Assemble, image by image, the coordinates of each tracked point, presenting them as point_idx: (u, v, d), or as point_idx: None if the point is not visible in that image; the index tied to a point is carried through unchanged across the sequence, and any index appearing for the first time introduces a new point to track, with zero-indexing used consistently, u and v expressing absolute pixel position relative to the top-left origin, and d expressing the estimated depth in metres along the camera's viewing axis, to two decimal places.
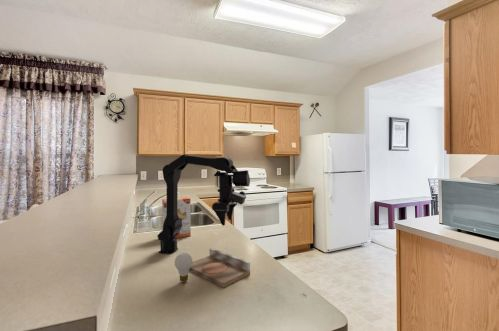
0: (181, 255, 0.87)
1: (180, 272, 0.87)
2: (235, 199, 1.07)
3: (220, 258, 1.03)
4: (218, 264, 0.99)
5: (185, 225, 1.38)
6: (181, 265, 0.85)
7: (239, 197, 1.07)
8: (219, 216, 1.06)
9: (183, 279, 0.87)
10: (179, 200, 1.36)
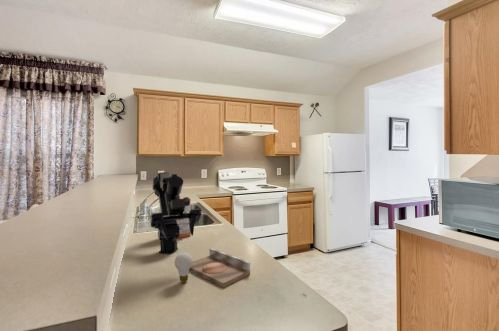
0: (181, 255, 0.87)
1: (180, 272, 0.87)
2: (171, 206, 0.97)
3: (220, 258, 1.03)
4: (218, 264, 0.99)
5: (185, 225, 1.38)
6: (181, 265, 0.85)
7: (171, 202, 0.97)
8: (161, 231, 0.96)
9: (183, 279, 0.87)
10: None
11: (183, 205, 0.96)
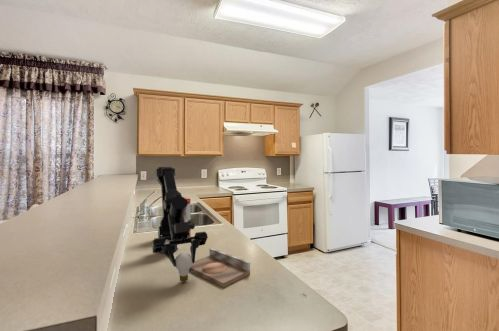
0: (181, 255, 0.87)
1: (180, 272, 0.87)
2: (174, 230, 0.89)
3: (220, 258, 1.03)
4: (218, 264, 0.99)
5: None
6: (181, 265, 0.85)
7: (174, 226, 0.88)
8: (169, 257, 0.88)
9: (183, 279, 0.87)
10: None
11: (187, 229, 0.88)
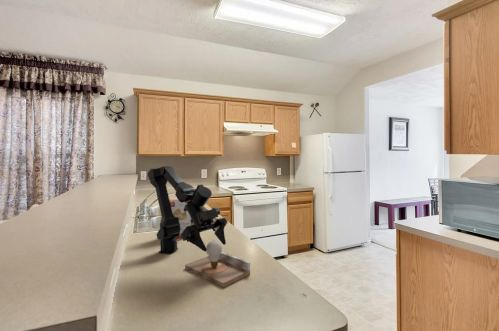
0: (213, 242, 0.95)
1: (213, 258, 0.94)
2: (203, 217, 0.95)
3: (220, 258, 1.03)
4: (218, 264, 0.99)
5: (185, 225, 1.38)
6: (215, 251, 0.93)
7: (204, 213, 0.95)
8: (196, 244, 0.93)
9: (215, 264, 0.95)
10: None
11: (217, 215, 0.96)
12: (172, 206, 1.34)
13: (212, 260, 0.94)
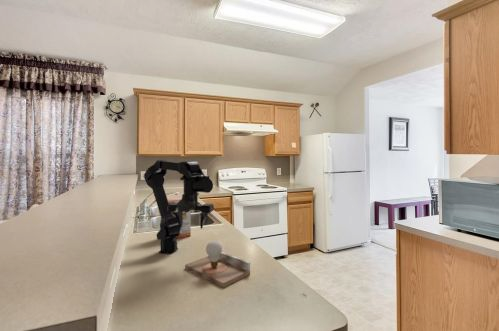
0: (213, 242, 0.94)
1: (213, 258, 0.94)
2: None
3: (220, 258, 1.03)
4: (218, 264, 0.99)
5: (185, 225, 1.38)
6: (215, 251, 0.93)
7: None
8: None
9: (215, 264, 0.95)
10: (179, 200, 1.36)
11: (186, 211, 1.01)
12: None
13: (212, 260, 0.94)
